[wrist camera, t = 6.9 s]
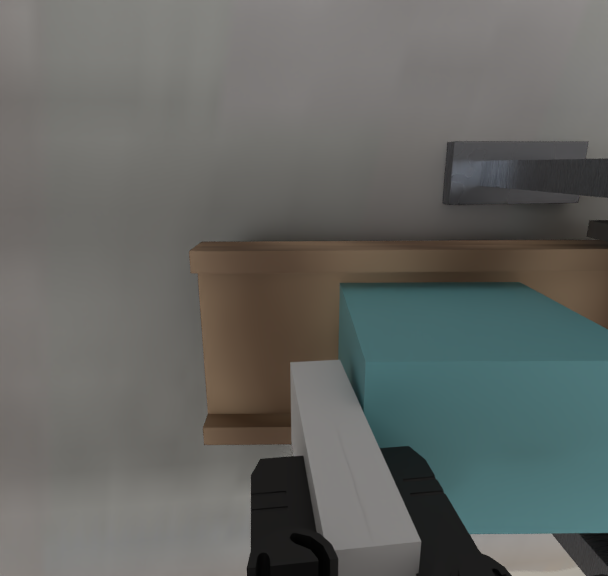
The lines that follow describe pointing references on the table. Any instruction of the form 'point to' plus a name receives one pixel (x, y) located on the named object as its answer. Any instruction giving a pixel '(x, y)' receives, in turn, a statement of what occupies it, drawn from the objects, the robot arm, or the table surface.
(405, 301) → the block
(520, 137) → the table surface
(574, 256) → the beam
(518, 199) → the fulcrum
